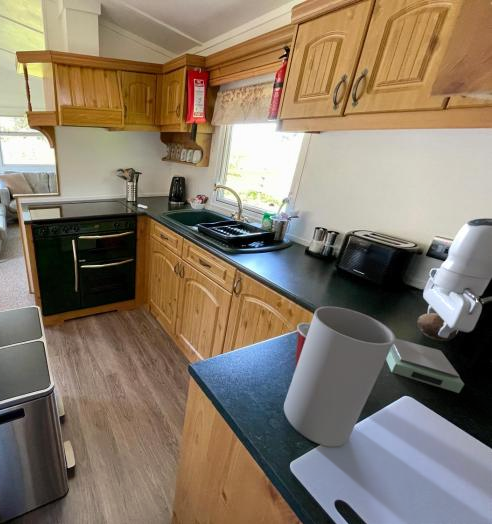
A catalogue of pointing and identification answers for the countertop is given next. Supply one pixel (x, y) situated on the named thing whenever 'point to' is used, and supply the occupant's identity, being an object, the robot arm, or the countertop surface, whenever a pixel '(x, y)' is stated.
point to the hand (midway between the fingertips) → (435, 328)
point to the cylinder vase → (336, 374)
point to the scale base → (423, 374)
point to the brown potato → (433, 326)
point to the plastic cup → (301, 338)
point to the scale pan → (423, 357)
